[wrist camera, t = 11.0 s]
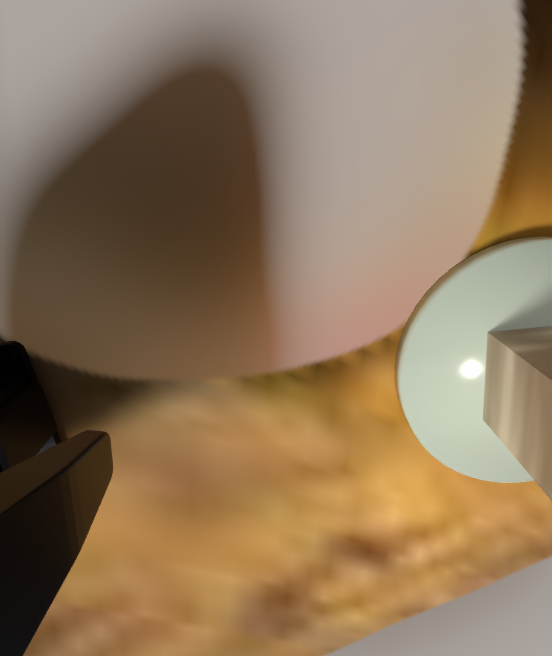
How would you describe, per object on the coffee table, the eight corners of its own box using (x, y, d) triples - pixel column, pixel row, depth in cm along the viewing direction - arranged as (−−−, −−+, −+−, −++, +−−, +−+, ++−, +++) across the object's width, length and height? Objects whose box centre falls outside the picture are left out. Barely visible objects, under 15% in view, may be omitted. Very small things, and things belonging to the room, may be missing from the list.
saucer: (404, 483, 24) (410, 498, 23) (383, 261, 20) (390, 266, 19) (635, 449, 24) (653, 462, 23) (660, 214, 20) (683, 217, 19)
